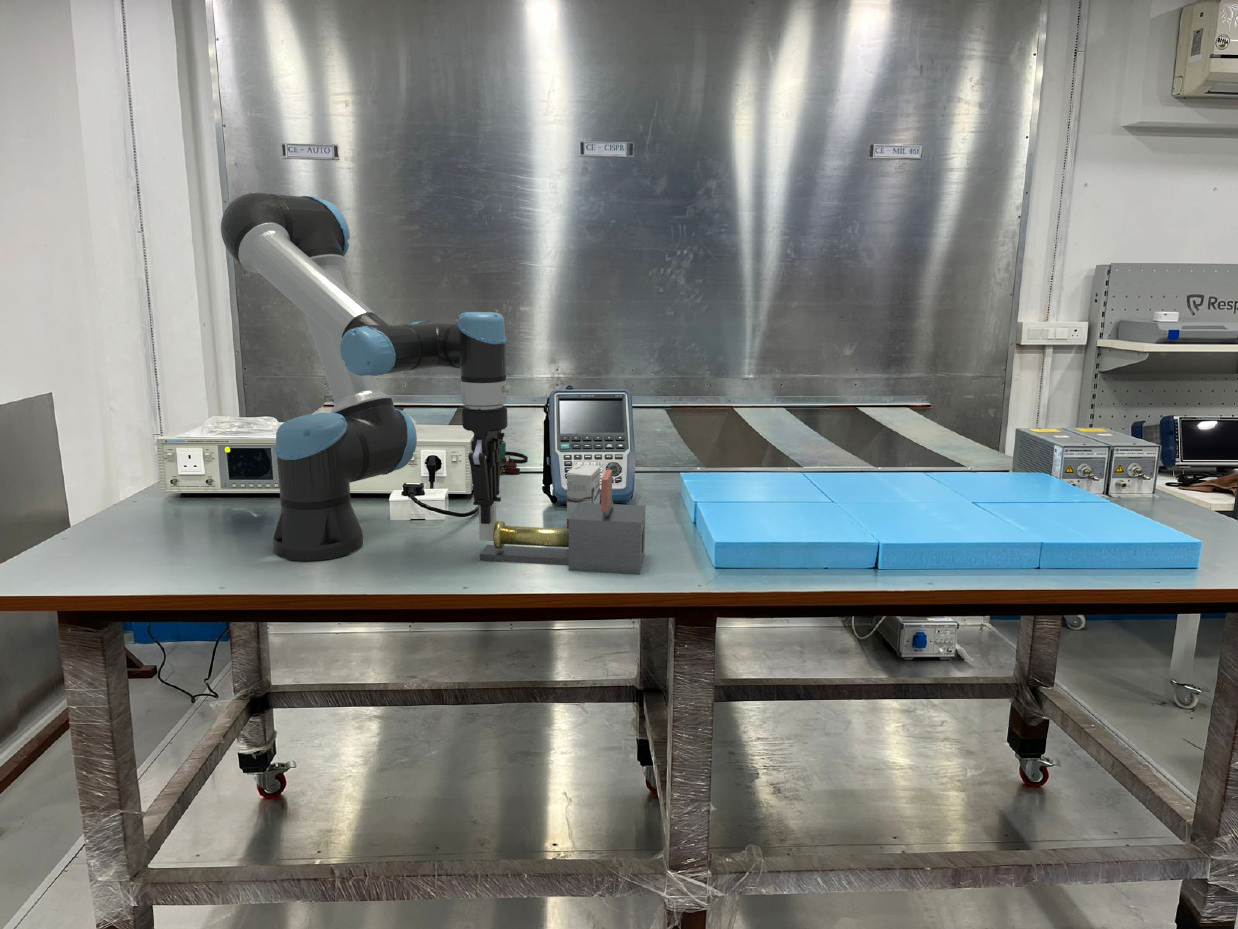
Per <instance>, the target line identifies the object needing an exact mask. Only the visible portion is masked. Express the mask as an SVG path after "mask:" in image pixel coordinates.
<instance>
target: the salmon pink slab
mask: <svg viewBox="0 0 1238 929" xmlns="http://www.w3.org/2000/svg"><path fill="white" fill-rule="evenodd" d="M612 497H613V469H606V470H605V471H604V473H603V475H602V478H600V504H601V512H604V513H603V516H604V517H605V518H607V517H608V516H609V514H610V511H611V509H612V506H613V504H614V501H613V498H612Z"/></svg>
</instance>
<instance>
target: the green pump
mask: <svg viewBox="0 0 1238 929" xmlns="http://www.w3.org/2000/svg"><path fill="white" fill-rule="evenodd" d="M504 437H505V432H502V430H500V431H497V438H499V439H500V440H502V445H501V453H500V475H501V474H502V473H510V474H516V475H517V474H518V475H519V474H520V473H521V468H519V467H517V465H518V464H521V465H522V464H527V463H528V458H529V457H528V456H527V455H525V454H523V453H520V452H515V451H509V450H507V451H506V446H507V443H506V441H504V440H503V439H504ZM511 457H517V458H519V459H516V458H511ZM507 458H508V459H507Z"/></svg>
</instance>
